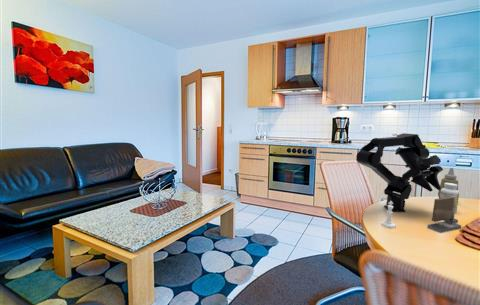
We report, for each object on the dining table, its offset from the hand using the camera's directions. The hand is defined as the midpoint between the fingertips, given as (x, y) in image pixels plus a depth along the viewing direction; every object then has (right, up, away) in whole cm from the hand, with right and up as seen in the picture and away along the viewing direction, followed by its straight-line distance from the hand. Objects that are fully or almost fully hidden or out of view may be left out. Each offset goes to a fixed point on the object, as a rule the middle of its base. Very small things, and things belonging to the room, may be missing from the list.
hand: (435, 190), depth 105 cm
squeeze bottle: (+25, -10, +25) cm, 37 cm away
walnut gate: (+1, -12, -2) cm, 12 cm away
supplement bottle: (+15, -12, +13) cm, 23 cm away
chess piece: (-23, -13, -6) cm, 28 cm away
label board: (0, -13, -5) cm, 14 cm away
